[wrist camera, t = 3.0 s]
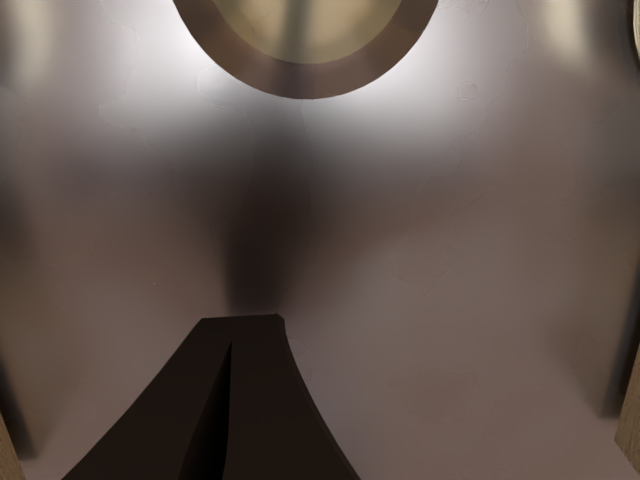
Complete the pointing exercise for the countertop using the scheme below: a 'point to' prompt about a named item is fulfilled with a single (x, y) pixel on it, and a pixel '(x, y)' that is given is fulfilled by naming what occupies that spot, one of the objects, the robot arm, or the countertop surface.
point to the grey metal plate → (329, 219)
